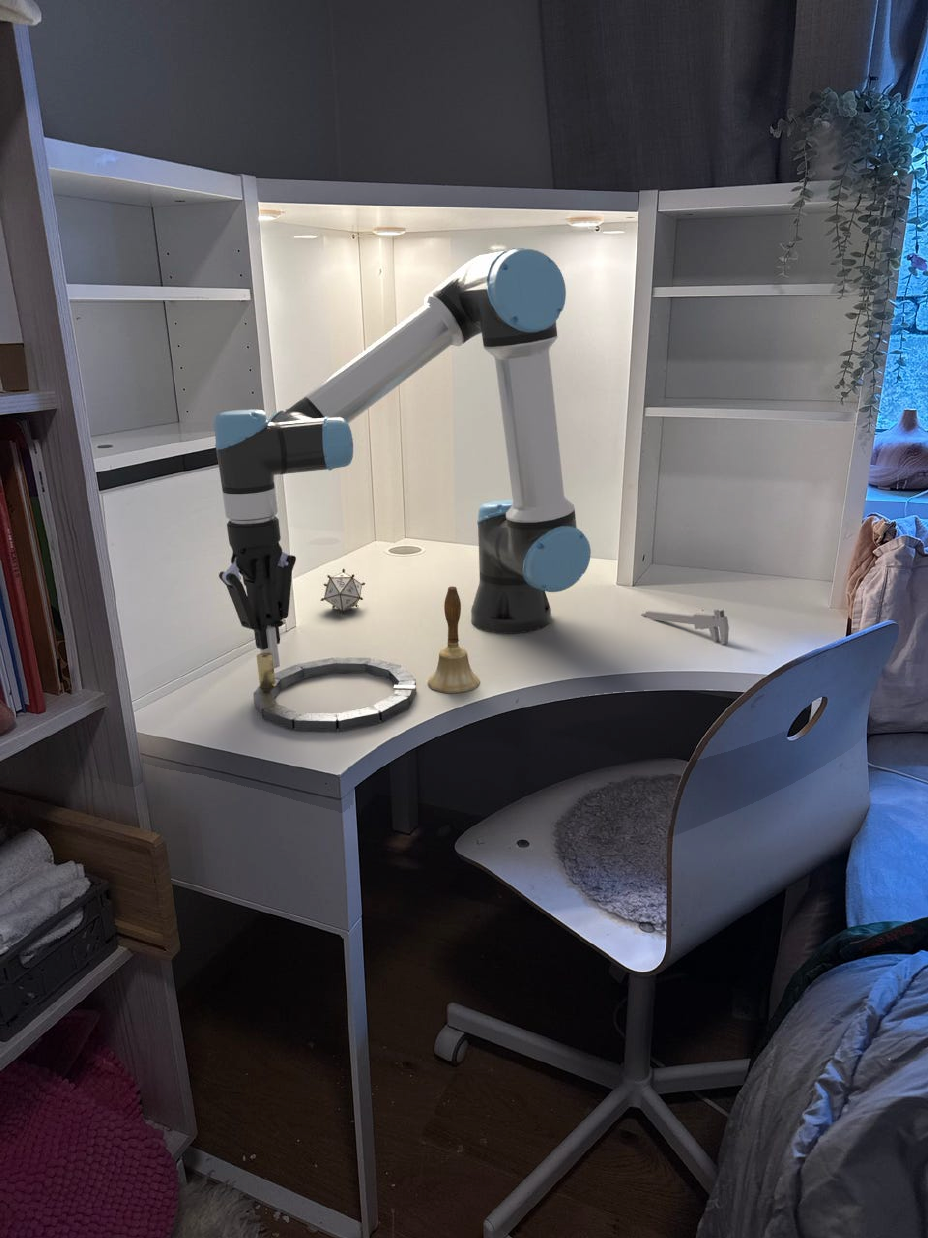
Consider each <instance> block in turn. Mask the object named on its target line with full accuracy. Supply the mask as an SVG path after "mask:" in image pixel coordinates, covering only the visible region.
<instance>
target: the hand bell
mask: <svg viewBox="0 0 928 1238" xmlns="http://www.w3.org/2000/svg"><path fill="white" fill-rule="evenodd" d="M457 588H458V587H456V586H449V587H448V588H447V592H446V595H445V599H444V605H443V606H444V611H443V612H444V616H445V620H446V623H447V646H446V647H443V648H442V649H440V651H439V652H438V660H437V661H438V662H437V665H436V669H435V670H434V672H433V674H432V675H431V676H430V677H429V679H428V681H427V685H428V687H429V688H430V689H431V690H434V691H435V692H440V693H445V694H460V693H466V692H470V691H473V690H474V689H476V688H478V686H479V685H480V684H481V681H480V679H479V676H478V675H477V674H475V673H474V671H473V670H472V668H471V665H470V663H469V662H470V661H469V656H468V651H467V650H466V649H465V648H463V647H460V646H459V641H460V640H459V622H460V620H461V619H460V618H461V615H462V614H461V612H462V603H461V598H460V596H459V592H458V589H457Z"/></svg>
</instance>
